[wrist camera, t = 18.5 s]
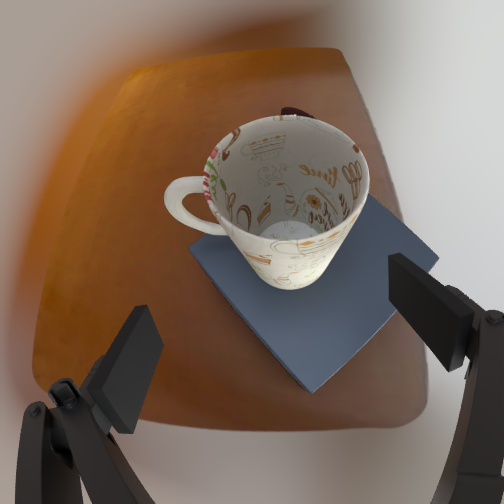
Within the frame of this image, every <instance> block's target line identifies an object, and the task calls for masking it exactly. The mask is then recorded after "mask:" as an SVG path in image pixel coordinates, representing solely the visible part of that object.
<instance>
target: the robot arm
mask: <svg viewBox="0 0 504 504" xmlns="http://www.w3.org/2000/svg"><path fill="white" fill-rule="evenodd" d="M388 281H389V301H390V302H391V303H392V304H393V306H394V307H395V308H396V309H397V310H398V311H399V312H400V314H401V315H402V316H403V317H404V318H405V320H406V321H407V322H408V323H409V324H410V325H411V327H412V328H413V329H414V330H415V331H416V333H417V334H418V335H419V336H420V337H421V339H422V340H423V341H424V342H425V344H426V345H427V346H428V347H429V348H430V350H431V351H432V352H433V353H434V355H435V356H436V357H437V358H438V360H439V361H440V362H441V364H442V365H443V366H444V367H445V369H446V370H447V371H448V372H450V371H453V370H455V369H457V368H459V367H461V366H462V365H463V361H464V357H465V355H466V356H467V357H468V359H469V360H470V362H469V366H468V369H467V372H466V375H465V378H464V379H466V384H465V390H464V395H463V400H462V405H461V410H460V414H459V419H458V423H457V427H456V431H455V434H454V438H453V442H452V445H451V448H450V452H449V455H448V458H447V461H446V464H445V467H444V470H443V473H442V476H441V479H440V481H439V484H438V486H437V489H436V491H435V494H434V496H433V499H432V501H431V503H430V504H500V503H501V500H502V495H503V492H504V477H503V476H501V469H502V464H503V459H504V313H502V312H500V311H497V310H488V311H485V310H484V309H482V308H481V307H480V306H479V305H478V304H477V303H475V302H474V301H473V300H472V299H469V297H468V296H467V295H464V293H463V292H461V291H460V290H459V289H458V288H455V287H453V286H450V285H447V286H444V285H442V284H441V283H440V282H438V281H437V280H436V279H435V278H433V277H432V276H431V275H429V274H428V273H427V272H426V271H424V270H423V269H422V268H420V267H419V266H418V265H416V264H415V263H414V262H412V261H411V260H410V259H408V258H407V257H406V256H404V255H403V254H402V253H400V252H399V253H395V254H391V255H388ZM163 346H164V345H163V342H162V340H161V338H160V335H159V333H158V330H157V328H156V326H155V323H154V321H153V318H152V316H151V313H150V311H149V308H148V306H147V305H141V306H135V307H134V309H133V310H132V312H131V314H130V315H129V317H128V318H127V320H126V322H125V323H124V325H123V326H122V328H121V330H120V331H119V333H118V335H117V336H116V338H115V339H114V341H113V343H112V344H111V346H110V348H109V349H108V351H107V353H106V355H102V356H101V357H100V358H99V359H98V360H97V361H96V362H95V363H94V365H93V367H92V368H91V370H90V372H89V373H88V376H87V377H86V379H85V380H84V382H83V384H82V385H81V387H80V389H78V388H77V386H76V385H75V383H74V382H73V380H72V379H69V378H63V379H61V380H58V381H57V382H55V383H54V384H53V385H52V386H51V387H50V389H49V391H48V395H49V397H50V398H51V399H52V401H53V402H54V403H55V405H56V406H57V407H56V408H52V409H48V408H47V406H46V405H45V404H44V403H43V402H41V401H38V402H34V403H32V404H30V405H29V406H28V407H27V409H26V410H25V412H24V416H23V422H22V429H21V434H20V442H19V449H18V458H17V470H16V485H15V486H16V487H15V504H83V497H82V490H81V483H80V476H81V479H82V481H83V484H84V486H85V488H86V491H87V493H88V495H89V497H90V500H91V502H92V504H155V502H154V501H153V500H152V498H151V497H150V495H149V494H148V493H147V491H146V490H145V488H144V487H143V485H142V484H141V482H140V481H139V479H138V478H137V476H136V475H135V473H134V471H133V470H132V468H131V467H130V465H129V463H128V462H127V460H126V458H125V457H124V455H123V453H122V452H121V450H120V448H119V446H118V444H117V443H116V441H115V439H114V437H113V435H112V434H111V433H110V432H109V431H110V428H111V426H113V427H114V428H115V430H116V431H117V432H118V433H122V434H133V433H134V430H135V427H136V424H137V421H138V418H139V415H140V412H141V409H142V406H143V403H144V400H145V397H146V394H147V391H148V388H149V385H150V382H151V379H152V377H153V374H154V371H155V368H156V365H157V363H158V360H159V357H160V354H161V352H162V349H163Z"/></svg>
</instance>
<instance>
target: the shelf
mask: <svg viewBox="0 0 504 504" xmlns="http://www.w3.org/2000/svg"><path fill="white" fill-rule="evenodd" d="M188 250H189V251H190V252H191V254H192V255H193V257H194V258H195V259H196V261H197V262H198V264H199V265H200V266H201V268H202V269H203V270H204V272H205V273H206V275H207V276H208V277H209V279H210V280H211V281H212V283H213V284H214V285H215V287H216V288H217V289H218V290H219V291H220V293H221V294H222V295H223V296H224V298H225V299H226V300H227V301H228V302H229V304H230V305H231V306H232V307H233V308H234V310H235V311H236V312H237V313H238V314H239V316H240V317H241V318H242V319H243V320H244V322H245V323H246V324H247V325H248V326H249V327H250V329H251V330H252V331H253V332H254V333H255V335H256V336H257V337H258V338H259V339H260V340H261V342H262V343H263V344H264V345H265V346H266V347H267V348H268V350H269V351H270V352H271V353H272V354H273V355H274V356H275V358H276V359H277V360H278V361H279V362H280V363H281V364H282V366H283V367H284V368H285V369H286V370H287V371H288V372H289V373H290V375H291V376H292V377H293V378H294V379H295V380H296V381H297V382H298V383H299V384H300V386H301V387H302V388H303V389H304V390H305V391H307V392H309V393H311V394H312V393H313V392H314V391H316V390H317V389H318V388H319V387H320V386H321V385H322V384H324V383H325V382H326V381H327V380H328V379H329V378H330V377H331V376H333V375H334V374H335V373H336V372H337V371H338V370H339V369H340V368H341V367H342V366H343V365H344V364H345V363H347V362H348V361H349V360H350V359H351V358H352V357H353V356H354V355H355V354H356V353H357V352H358V351H359V350H360V349H361V348H362V347H363V346H364V345H365V344H366V343H367V342H368V341H369V340H370V339H371V338H372V337H373V336H374V335H375V334H376V333H377V332H378V330H379V329H380V328H381V327H382V326H383V325H384V324H385V323H386V322H387V321H388V320H389V319H390V318H391V316H392V315H393V314H394V313H395V312H396V311H397V309H396V308H395V307H394V306H393V304H392V303H391V302H390V301H389V281H388V255H391V254H395V253H399V252H400V253H402V254H403V255H404V256H406V257H407V258H408V259H410V260H411V261H412V262H414V263H415V264H416V265H418V266H419V267H420V268H422V269H423V270H424V271H426V272H427V273H429V271H430V270H431V269H432V267H433V266H434V265H435V263H436V262H437V261H438V260H439V257H438V256H437V255H436V254H435V253H434V252H433V251H432V250H431V249H430V248H429V247H428V246H427V245H426V244H425V243H424V242H423V241H422V240H421V239H420V238H419V237H418V236H417V235H415V234H414V233H413V232H412V231H411V230H410V229H409V228H408V227H407V226H406V225H405V224H404V223H402V222H401V221H400V220H399V219H398V218H397V217H396V216H395V215H393V214H392V213H391V212H390V211H389V210H388V209H387V208H385V207H384V206H383V205H382V204H381V203H379V202H378V201H377V200H376V199H375V198H374V197H372V196H371V195H370V194H369V193H368V195H367V198H366V201H365V204H364V206H363V208H362V210H361V212H360V214H359V216H358V218H357V219H356V221H355V223H354V224H353V226H352V228H351V229H350V231H349V232H348V234H347V236H346V237H345V239H344V241H343V242H342V244H341V245H340V247H339V249H338V250H337V252H336V253H335V255H334V256H333V258H332V260H331V261H330V263H329V264H328V266H327V267H326V269H325V270H324V272H323V273H322V274H321V276H320V277H319V278H318V279H317V280H316V281H314V282H313V283H311V284H310V285H308V286H305V287H303V288H299V289H293V290H287V289H280V288H276V287H274V286H271V285H269V284H268V283H266V282H265V281H264V280H262V279H261V278H260V277H259V276H258V274H257V273H256V272H255V271H254V269H253V268H252V267H251V265H250V264H249V263H248V261H247V260H246V259H245V257H244V256H243V254H242V253H241V252H240V250H239V249H238V248H237V246H236V245H235V244H234V242H233V241H232V240H231V238H230V237H229V236H228V235H212V234H208V233H206V234H205V235H204V236H203V237H201V238H200V239H199V240H197V241H196V242H195V243H194V244H192V245H191V246H190V247H188Z"/></svg>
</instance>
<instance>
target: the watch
mask: <svg viewBox="0 0 504 504" xmlns="http://www.w3.org/2000/svg"><path fill="white" fill-rule="evenodd" d="M281 115H292V116H303V117H308V118H313V119H315V118H314V117H313V116H310V115H309V114H307V113H306V112H304V111H302V110H299V109H296V108H291V107H285V108H282V110H281ZM316 120H317V119H316Z"/></svg>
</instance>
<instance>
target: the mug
mask: <svg viewBox="0 0 504 504" xmlns="http://www.w3.org/2000/svg"><path fill="white" fill-rule="evenodd" d="M368 190H369V170H368V166H367V163H366V160H365V158H364V156H363V154H362V152H361V151H360V149H359V148H358V146H357V145H356V144H355V143H354V142H353V141H352V140H351V139H350V138H349V137H348V136H347V135H346V134H344V133H343V132H342V131H340V130H339V129H337V128H335V127H333V126H331V125H329V124H327V123H325V122H322V121H319V120H316V119H313V118H308V117H303V116H292V115H281V116H272V117H266V118H262V119H258V120H255V121H252V122H249V123H247V124H245V125H243V126H241V127H239V128H237V129H236V130H234V131H232V132H231V133H230V134H228V135H227V136H226V137H225V138H223V139H222V140H221V141H220V142H219V143H218V145H217V146H216V147H215V148H214V150H213V151H212V152H211V154H210V156H209V158H208V160H207V162H206V165H205V169H204V174H203V176H193V177H183V178H179V179H176V180H175V181H173V182H172V183H171V184H170V185H169V186H168V188H167V189H166V191H165V195H164V202H165V206H166V208H167V209H168V211H169V212H170V213H171V215H172V216H173V217H174V218H176V219H177V220H178V221H180V222H181V223H183V224H185V225H187V226H189V227H192V228H195V229H197V230H200V231H203V232H205V233H208V234H212V235H228V236H229V237H230V238H231V240H232V241H233V242H234V244H235V245H236V246H237V248H238V249H239V250H240V252H241V253H242V254H243V256H244V257H245V259H246V260H247V261H248V263H249V264H250V265H251V267H252V268H253V269H254V271H255V272H256V273H257V274H258V276H259V277H260V278H261V279H262V280H264V281H265V282H266V283H268V284H269V285H271V286H274V287H276V288H280V289H287V290H293V289H299V288H303V287H305V286H308V285H310V284H311V283H313V282H314V281H316V280H317V279H318V278H319V277H320V276H321V274H322V273H323V272H324V270H325V269H326V267H327V266H328V264H329V263H330V261H331V260H332V258H333V256H334V255H335V253H336V252H337V250H338V249H339V247H340V245H341V244H342V242H343V241H344V239H345V237H346V236H347V234H348V232H349V231H350V229H351V228H352V226H353V224H354V223H355V221H356V219H357V218H358V216H359V214H360V212H361V210H362V208H363V206H364V204H365V201H366V198H367V195H368ZM189 193H204V194H205V197H206V200H207V203H208V205H209V207H210V209H211V211H212V213H213V214H214V216H215V217H216V219H217V221H218V222H219V223H220V224H215V223H211V222H207V221H204V220H201V219H199V218H197V217H195V216H193V215H192V214H190V213H189V212H188V211H187V210H186V209H185V208H184V207H183V205H182V200H183V198H184V197H185V196H186V195H187V194H189Z"/></svg>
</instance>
